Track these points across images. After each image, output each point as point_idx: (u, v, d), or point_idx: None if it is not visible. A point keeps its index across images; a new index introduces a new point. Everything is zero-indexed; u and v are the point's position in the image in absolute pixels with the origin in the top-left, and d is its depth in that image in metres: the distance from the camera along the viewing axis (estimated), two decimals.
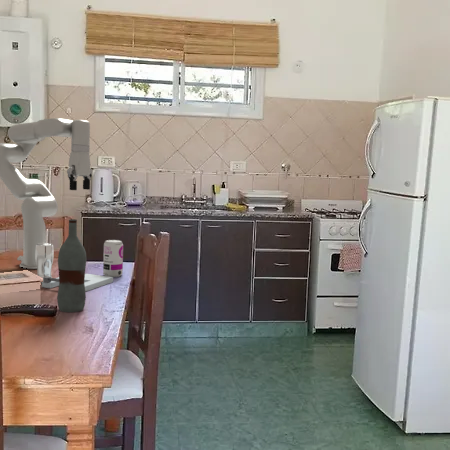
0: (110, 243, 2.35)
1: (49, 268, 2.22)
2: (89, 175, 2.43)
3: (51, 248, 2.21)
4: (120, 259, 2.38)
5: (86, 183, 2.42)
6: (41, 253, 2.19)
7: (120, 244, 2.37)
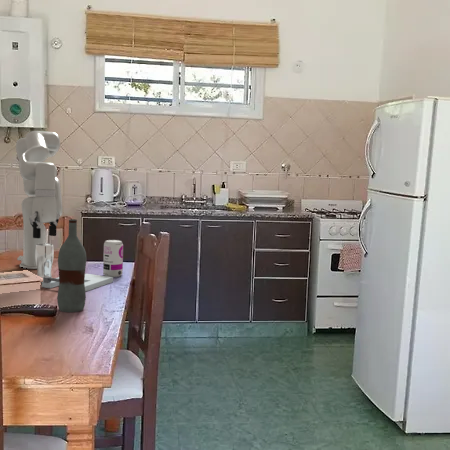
0: (110, 243, 2.35)
1: (49, 268, 2.22)
2: (56, 220, 2.27)
3: (51, 248, 2.21)
4: (120, 259, 2.38)
5: (52, 229, 2.25)
6: (41, 253, 2.19)
7: (120, 244, 2.37)
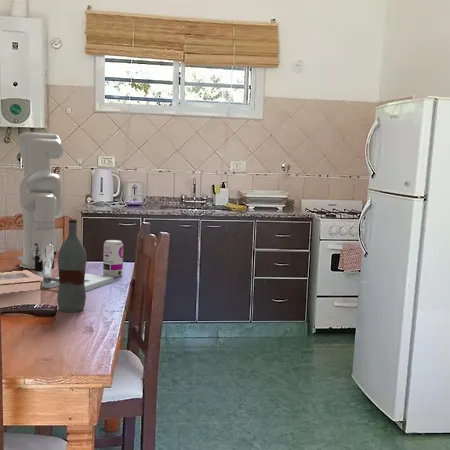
0: (110, 243, 2.35)
1: (49, 268, 2.22)
2: None
3: (51, 248, 2.21)
4: (120, 259, 2.38)
5: None
6: None
7: (120, 244, 2.37)
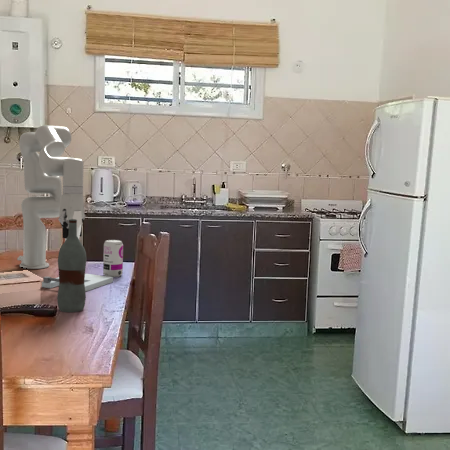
0: (110, 243, 2.35)
1: (77, 235, 2.13)
2: None
3: (79, 214, 2.12)
4: (120, 259, 2.38)
5: None
6: None
7: (120, 244, 2.37)
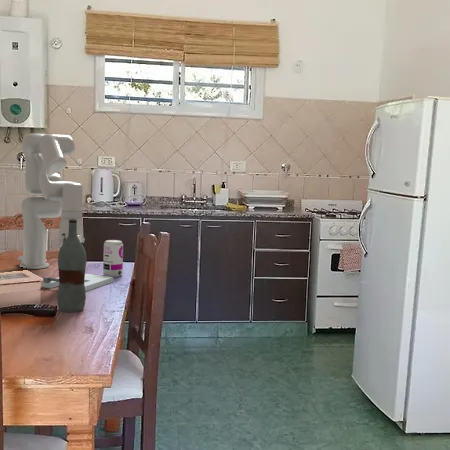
0: (110, 243, 2.35)
1: None
2: None
3: (79, 238, 2.13)
4: (120, 259, 2.38)
5: None
6: None
7: (120, 244, 2.37)
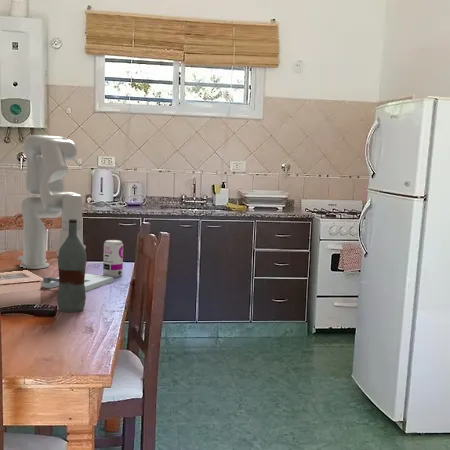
0: (110, 243, 2.35)
1: None
2: None
3: None
4: (120, 259, 2.38)
5: None
6: None
7: (120, 244, 2.37)
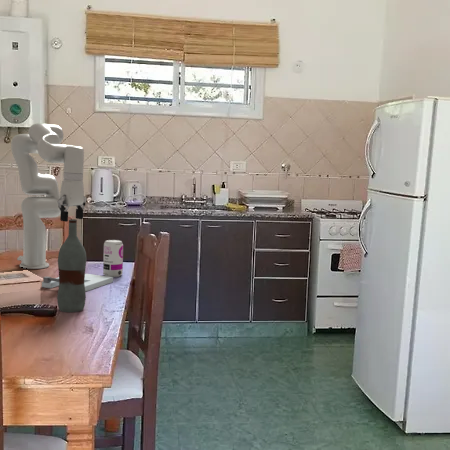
0: (110, 243, 2.35)
1: None
2: (83, 204, 2.28)
3: None
4: (120, 259, 2.38)
5: (79, 212, 2.27)
6: None
7: (120, 244, 2.37)
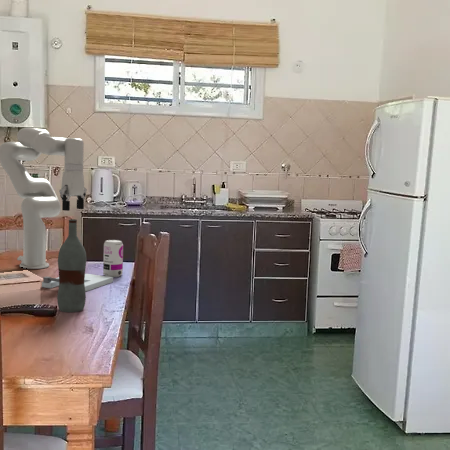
0: (110, 243, 2.35)
1: None
2: (83, 194, 2.37)
3: None
4: (120, 259, 2.38)
5: (80, 202, 2.35)
6: None
7: (120, 244, 2.37)
